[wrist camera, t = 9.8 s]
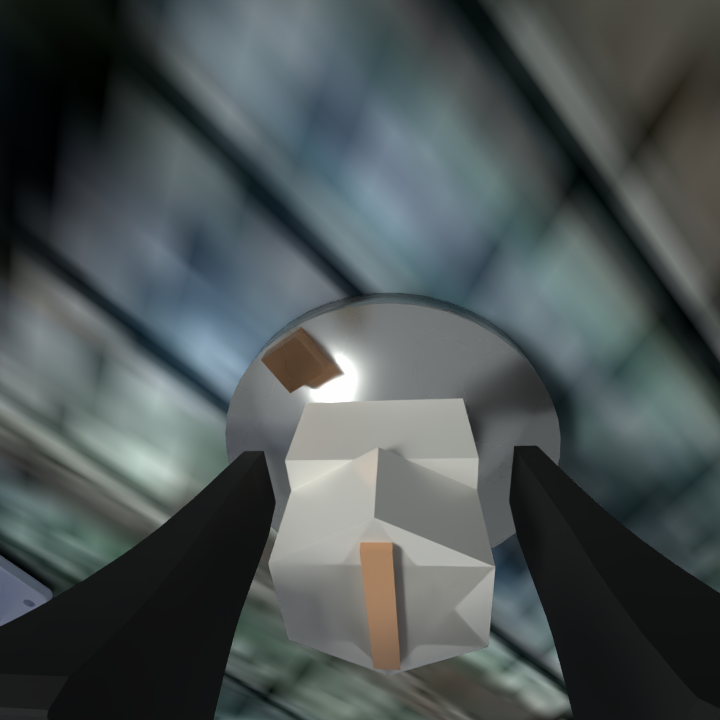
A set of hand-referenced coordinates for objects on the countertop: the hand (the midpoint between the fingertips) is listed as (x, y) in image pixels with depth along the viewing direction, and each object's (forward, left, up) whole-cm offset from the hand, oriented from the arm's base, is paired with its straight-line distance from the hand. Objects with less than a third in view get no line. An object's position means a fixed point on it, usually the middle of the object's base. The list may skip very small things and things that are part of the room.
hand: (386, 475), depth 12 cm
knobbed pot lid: (0, 0, -2) cm, 2 cm away
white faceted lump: (0, 0, -1) cm, 1 cm away
